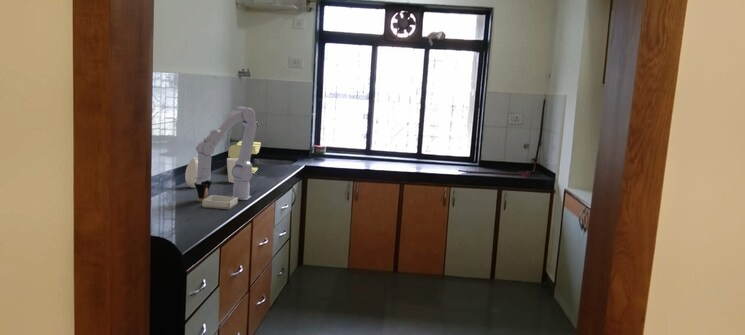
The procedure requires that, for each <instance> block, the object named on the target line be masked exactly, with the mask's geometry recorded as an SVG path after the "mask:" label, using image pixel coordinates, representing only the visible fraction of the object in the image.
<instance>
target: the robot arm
mask: <svg viewBox="0 0 745 335" xmlns="http://www.w3.org/2000/svg"><path fill="white" fill-rule="evenodd" d="M256 115H257V113H256V112H255V111H254V109H253V108H252V107H247V106H240V105H237V106H236V107H234V108H233V110H231V111H230V112H229V115H228V116H227V118H226V119H225V120H224V121H223V122H222V124H221V125H220V126H219V127H218V128H217V129H215V128H214V129H213V130H210V133H209V134H208V135H207V136H206V137H205V138H204V139H203V141H200V142H199V143H197V146H196V147H195V150H196V152H197V156H198V157H197V161H198V171H197V177H195V179H197V180H196V183H195V189H196V191H197V199H198V198H201V199H203V198H204V194H205V190H206V187H207V188H208V193H207V195H208V194H209V190H210V187H211V185H212V183H213V181H211V177H212V176H211V170H212V169H211V168H212V167H211V166H212V154H214V152H215V148H216V147H217V146H218V145H219V144H220V143H221V141H222V140H223V139H224V137H225V136H224V135H225V133H226V132H227V131H228V130H230V129H231V128H232V127H233V126H234V125H235V124H236V123H241V124H242V125H243V127H244V130H243V135H242V139H241V141H242V144H241V149H240V154H239V159H238V160H237V161H236V162H235V165H234V167H233V168H232V175H233V177H234V183H233V189H232V196H231V197H238V200H241V201H247V200H249V199H250V198H252V195H250V190H251V189H250V188H251V184H250V180H251V179H252V177H253V173H252V167H253V165H252V162H251V159H252V158H251V157H252V154H251V153H252V148H253V143H254V142H255V138H256V132H257V127H258V126H257V124H258V123H257V120H256Z"/></svg>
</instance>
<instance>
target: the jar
mask: <svg viewBox="0 0 745 335" xmlns="http://www.w3.org/2000/svg"><path fill="white" fill-rule="evenodd" d="M207 193H208V194H209V191H208V188H207V187H206V190H205V194H204V198H203V199H201V198H198V197H197V202H201V203H202V200H204V199H206V198H207V197H208V194H207Z"/></svg>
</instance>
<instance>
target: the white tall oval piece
mask: <svg viewBox="0 0 745 335" xmlns="http://www.w3.org/2000/svg"><path fill="white" fill-rule="evenodd" d="M195 155H196V153H195V152H194V153H193V157H191V160H189V162H188V163H187V166H186V169H185V174H184V175H185V176H184V177H185V178H184V179H185V183H186V184H187V186H189V187H190V188H191V189H196V187H195V183H196V180H197V179H195V177H197V171H198V157H196V156H195Z"/></svg>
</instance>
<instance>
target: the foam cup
mask: <svg viewBox="0 0 745 335" xmlns="http://www.w3.org/2000/svg"><path fill="white" fill-rule="evenodd" d="M238 159H239V158H230V157H227V158H226V166H227V168H226V169H227V178H228V179H227V180H228V181H227V182H228V183H230V182H231V183H230V184H234V177H233V175H232V168H233V167H234V165H235V162H236V161H237V160H238Z"/></svg>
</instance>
